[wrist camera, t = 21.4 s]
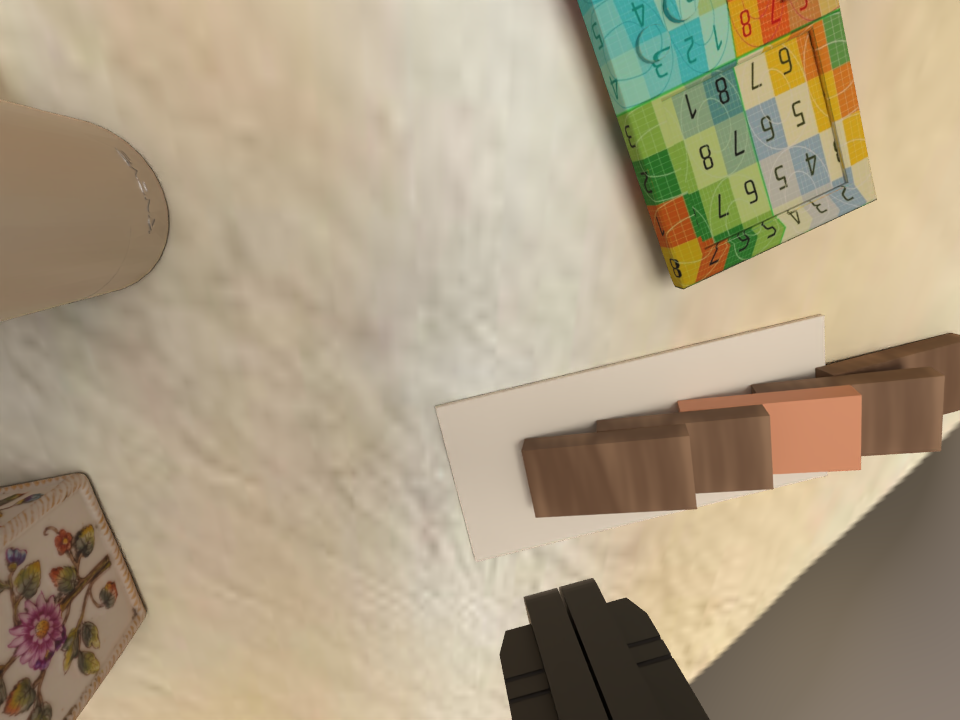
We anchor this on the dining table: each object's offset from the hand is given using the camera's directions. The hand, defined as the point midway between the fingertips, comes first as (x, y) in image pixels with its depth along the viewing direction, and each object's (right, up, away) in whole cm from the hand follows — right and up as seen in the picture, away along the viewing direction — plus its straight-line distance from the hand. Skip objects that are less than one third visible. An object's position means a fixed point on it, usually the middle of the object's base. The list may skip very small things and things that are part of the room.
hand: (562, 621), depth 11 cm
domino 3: (+12, 0, +24) cm, 27 cm away
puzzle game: (+11, +22, +19) cm, 31 cm away
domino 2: (+6, -1, +24) cm, 25 cm away
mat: (+9, 0, +25) cm, 27 cm away
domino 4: (+17, +1, +24) cm, 29 cm away
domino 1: (+2, -2, +24) cm, 24 cm away
